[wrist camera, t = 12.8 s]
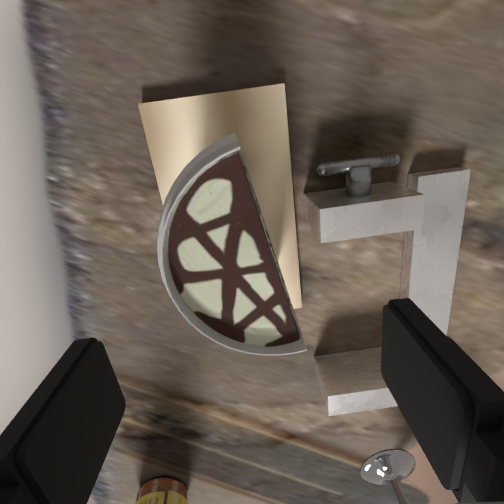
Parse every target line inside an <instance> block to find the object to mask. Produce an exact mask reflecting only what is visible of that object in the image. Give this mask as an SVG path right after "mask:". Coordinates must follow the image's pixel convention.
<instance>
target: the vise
mask: <svg viewBox="0 0 504 504" xmlns="http://www.w3.org/2000/svg"><path fill="white" fill-rule="evenodd" d="M399 162H400V156H399V154H397V153H389V154H382V155H375V156H368V157H361V158H354V159H347V160H340V161H333V162H326V163H321V164H319V165H318V167H317V173H318V174H319V175H320V176H327V175H334V174H342V173H345V188H339V189H332V190H325V191H318V192H311V193H304V209H305V222H306V224H307V225H308V226H309V228H310V229H311V230H312V232H313V233H314V234H315V236H316V237H317V238H318V240H319V241H320V242H321V243H326V242H333V241H340V240H347V239H354V238H361V237H368V236H376V235H383V234H390V233H397V232H404V241H403V255H402V270H401V285H400V299H402V298H410V299H411V300H412V301H413V302H414V303H415V304H416V305H417V306H418V307H419V308H420V309H421V310H422V311H423V312H424V313H425V314H426V315H427V317H428V318H429V319H430V320H431V321H432V322H433V323H434V324H435V325H436V326H437V327H438V328H439V329H440V330H441V331H442V332H443V333H444V334H445V335H447V329H448V322H449V315H450V308H451V301H452V294H453V288H454V281H455V274H456V267H457V260H458V253H459V247H460V240H461V233H462V226H463V219H464V212H465V206H466V199H467V192H468V185H469V178H470V171H471V169H466V168H461V167H453V168H446V169H439V170H432V171H424V172H417V173H410V174H408V182H407V188H406V187H403V186H401V185H398V184H395V183H392V182H390V181H389V182H382V183H375V184H372V169H377V168H384V167H391V166H396V165H397V164H399ZM381 350H382V347H375V348H368V349H361V350H354V351H347V352H340V353H333V354H326V355H319V356H314V366H315V376H316V379H317V382H318V385H319V388H320V391H321V394H322V397H323V400H324V403H325V406H326V409H327V412H328V415H329V416H332V415H339V414H346V413H353V412H360V411H367V410H374V409H381V408H388V407H395V406H398V405H397V403H396V401H395V400H394V398H393V396H392V394H391V392H390V391H389V389H388V387H387V385H386V383H385V382H384V380H383V377H382V374H381Z"/></svg>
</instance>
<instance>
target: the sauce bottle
mask: <svg viewBox="0 0 504 504" xmlns="http://www.w3.org/2000/svg"><path fill="white" fill-rule="evenodd" d="M135 504H188V502H187V491H186V487H185V486H184V484H183V483H182V482H179V481H176V480H174V479H171V478H162V477H160V478H156V479H152V480H150V481H147V482H146V483H144V484H143V486H142V487H141V488H140V490H139V492H138V495H137V499H136V503H135Z"/></svg>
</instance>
